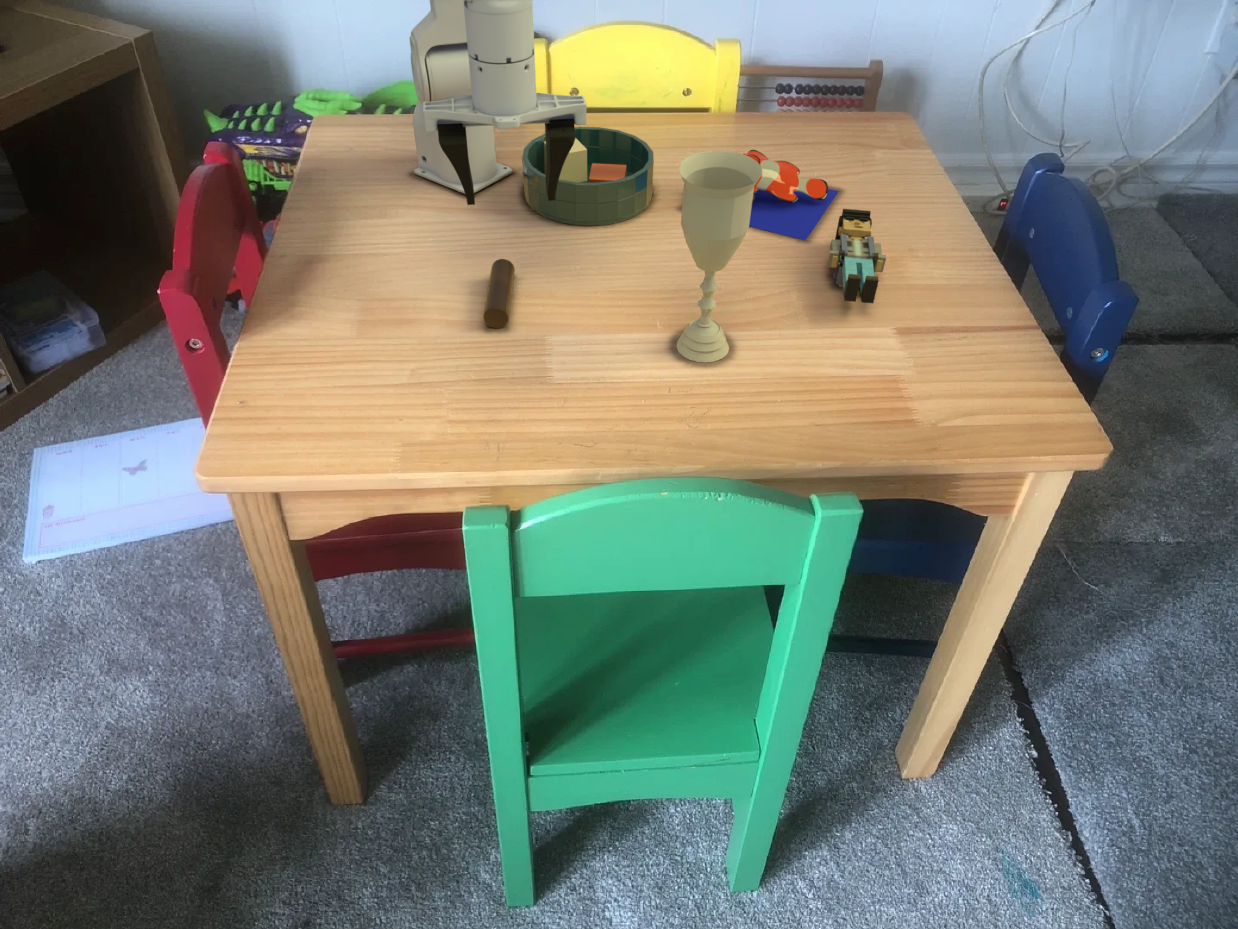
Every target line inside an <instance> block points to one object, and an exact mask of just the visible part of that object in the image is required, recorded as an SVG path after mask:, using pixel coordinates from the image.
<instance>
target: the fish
mask: <svg viewBox="0 0 1238 929" xmlns="http://www.w3.org/2000/svg"><path fill="white" fill-rule="evenodd" d="M742 154H743V155H746V156H749V157H751V158H752V159H754V160H755V161H757V162H758V163H759V165H760V166H761V168H762V175H761V177H760V178H759V180H758V181H757V183H756V184H755V186H754V191H753V193H758V192H759V191H764V192H767V193H770V194H772V195H773V196H774V197H776V198H777V199H779V200H781V201H783V202H785V203H789V204H792V203H795V202H797V201H798V200H799V196H798V195H797V194H796V192H798V193H802V194H805V195H807V196H808V197H810V198H812V199H814V200H817V201H824V200H825V199H826V198H827V197H828V195H829V189H830V188H829V185H828V183H827V181H826V180H825V179H821V178H811V177H810V178H802V177H800V176H799V175H800V173H801V171H800V168H798V167H797V165H795V164H793V163H791V162H789V161H786V160H773V159H771V158H769V157H767V156H766V155H765V154H763V153H762V152H760V150H756V149H750V150H749V151H748V152H746V153H742Z"/></svg>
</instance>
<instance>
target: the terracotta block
mask: <svg viewBox="0 0 1238 929" xmlns="http://www.w3.org/2000/svg"><path fill="white" fill-rule="evenodd" d="M624 177H626V165H616V164H596V163H592V166H591V171H590V176H589V183H599V182H606V181H614V180H618V179H621V178H624Z"/></svg>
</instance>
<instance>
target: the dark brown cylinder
mask: <svg viewBox="0 0 1238 929" xmlns="http://www.w3.org/2000/svg"><path fill="white" fill-rule="evenodd" d="M515 271H516V269H515V266H514V263H513V262H512V261H511V260H509V259H506V258H498V259H496V260H494V261H493V263H492V265H491V269H490V276H489V280H488V285H487V286H488V287H487V293H486V300H485V304H484V310H483V311H484V312H483V321H484V323H485V324H486V325H487V326H489V327H490V328H493V329H502V328H504V327H506V325H507V324H508V322H509V320H510V319H509V318H510V309H511V302H512V295H513V287H514V278H515Z"/></svg>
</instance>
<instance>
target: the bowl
mask: <svg viewBox="0 0 1238 929" xmlns="http://www.w3.org/2000/svg"><path fill="white" fill-rule="evenodd" d="M574 127H575V126H574ZM575 131H576V139H577V140H578V141H579V142H580V143H581V144H582V145H583V146H584V147H585V148H586V149H587V181H584V182H571V181H565V180H560V179H559V180H558V184H557V189H556V197H555V200H554V201H548V197H547V192H546V174H545V166H544V141H546V135H545V133H543V134H541V135H539V136H537V137H535V138H533V139H532V140H530V141H529V142H528V143H527V145H525V147H524V148H523V151H522V157H521V160H522V162H521V163H522V180H523V192H524V198H525V201H526V203H527V205H528V207H530V209H531V210H533V211H534V212H535V213H537V214H538V215H540V216H541V217H544V218H546V219H549V220H551V221H554V222H558V223H562V224H567V225H572V226H573V225H574V226H587V227H589V226H590V227H591V226H605V225H611V224H616V223H622V222H625V221H627V220H630V219H632V218H634V217H636V216H638V215H639V214H641V213H642V212H644V211H645V210H646V209H647V208H648V207H649V205H650V204H651V200H652V197H653V182H654V164H655V161H654V158H655V156H654V151H653V149H652V148H651V147H650V146H649V144H648V143H647V142H646V141H645V140H643V139H641V138H640V137H638V136H636V135H634V134H631V133H628V132H625V131H622V130H618V129H613V128H606V127H601V126H600V127H599V126H576V127H575ZM592 163H596V164H616V165H626V177H624V178H621V179H618V180H614V181H606V182H599V183H589V176H590V171H591V166H592Z"/></svg>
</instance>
